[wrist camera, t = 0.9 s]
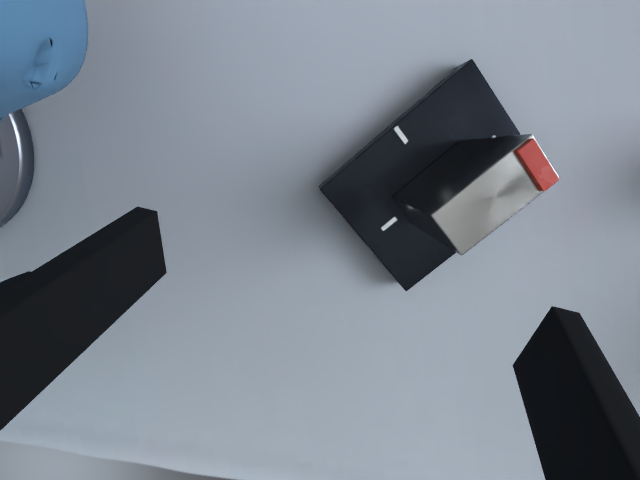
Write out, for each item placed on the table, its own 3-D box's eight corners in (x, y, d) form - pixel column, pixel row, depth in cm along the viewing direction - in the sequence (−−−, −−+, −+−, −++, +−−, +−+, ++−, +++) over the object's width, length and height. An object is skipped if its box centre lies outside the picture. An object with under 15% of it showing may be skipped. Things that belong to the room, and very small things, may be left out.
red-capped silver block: (414, 226, 27) (463, 257, 19) (391, 197, 26) (432, 216, 18) (482, 171, 26) (564, 178, 18) (460, 139, 25) (535, 132, 17)
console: (399, 282, 30) (406, 292, 28) (318, 186, 27) (319, 189, 25) (532, 177, 28) (551, 179, 26) (459, 65, 26) (473, 57, 24)
